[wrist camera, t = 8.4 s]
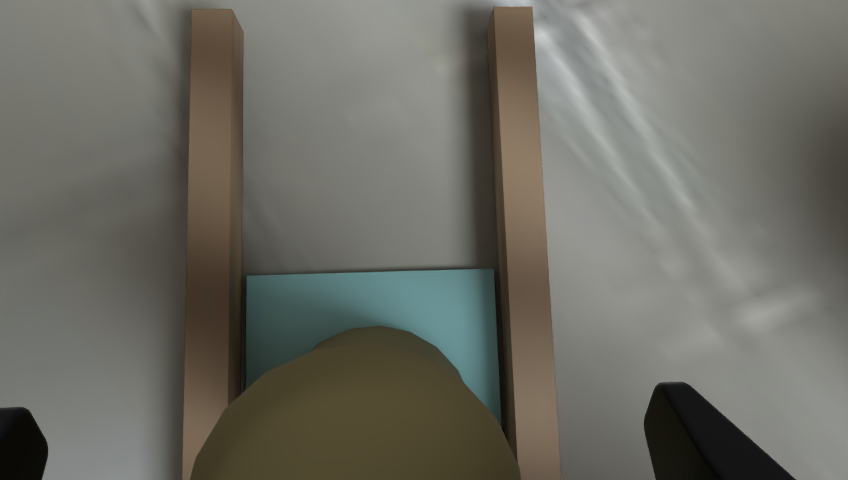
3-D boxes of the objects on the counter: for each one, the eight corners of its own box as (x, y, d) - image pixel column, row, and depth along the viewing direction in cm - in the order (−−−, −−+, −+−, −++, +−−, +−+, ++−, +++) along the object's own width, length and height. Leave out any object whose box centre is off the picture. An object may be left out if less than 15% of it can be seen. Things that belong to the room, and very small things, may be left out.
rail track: (561, 689, 18) (576, 719, 17) (194, 712, 18) (176, 746, 16) (522, 29, 21) (532, 6, 20) (206, 32, 21) (191, 9, 19)
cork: (434, 565, 19) (493, 889, 8) (240, 492, 19) (26, 712, 8) (503, 366, 20) (640, 406, 9) (317, 296, 20) (222, 250, 9)
